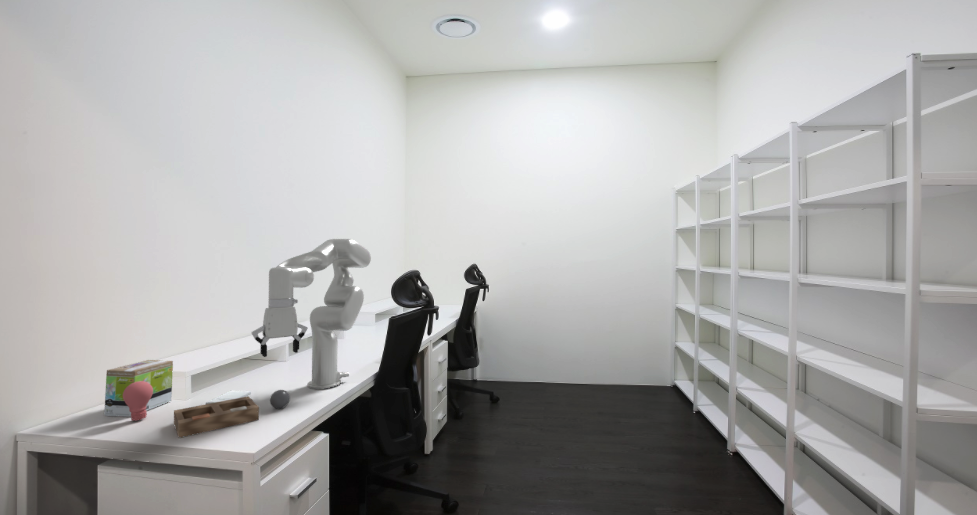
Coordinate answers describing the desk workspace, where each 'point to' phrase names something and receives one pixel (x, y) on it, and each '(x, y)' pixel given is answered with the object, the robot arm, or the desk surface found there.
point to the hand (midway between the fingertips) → (280, 354)
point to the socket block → (215, 416)
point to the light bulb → (138, 399)
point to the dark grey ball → (279, 399)
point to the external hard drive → (230, 396)
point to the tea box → (147, 371)
